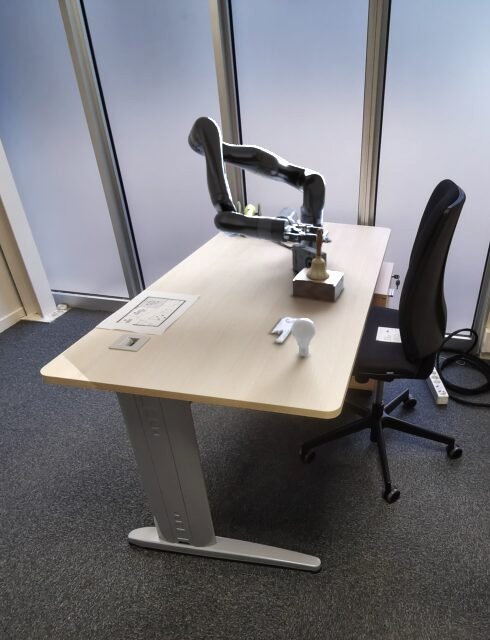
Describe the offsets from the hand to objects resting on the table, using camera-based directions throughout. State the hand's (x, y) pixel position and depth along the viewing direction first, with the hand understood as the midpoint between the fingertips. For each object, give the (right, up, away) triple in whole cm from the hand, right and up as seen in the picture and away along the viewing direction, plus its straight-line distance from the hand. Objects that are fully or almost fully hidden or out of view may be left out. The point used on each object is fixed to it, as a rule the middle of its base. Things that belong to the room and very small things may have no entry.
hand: (320, 234), depth 147 cm
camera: (-7, -7, +26) cm, 28 cm away
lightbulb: (-3, -42, -26) cm, 49 cm away
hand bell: (-1, -12, +8) cm, 14 cm away
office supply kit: (-13, +27, +75) cm, 81 cm away
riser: (-1, -17, +11) cm, 20 cm away
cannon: (-41, +28, +74) cm, 89 cm away
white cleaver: (-10, -34, -14) cm, 38 cm away
